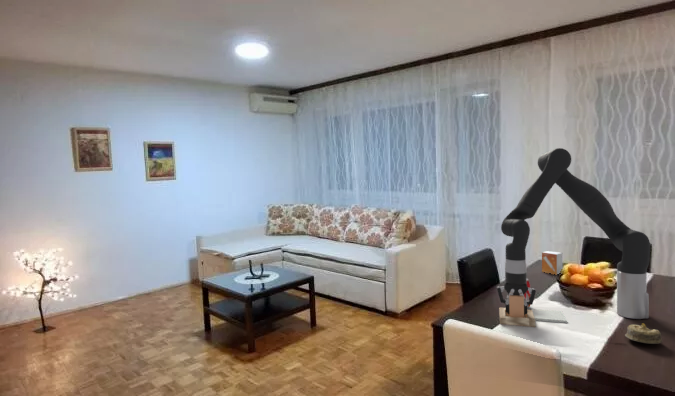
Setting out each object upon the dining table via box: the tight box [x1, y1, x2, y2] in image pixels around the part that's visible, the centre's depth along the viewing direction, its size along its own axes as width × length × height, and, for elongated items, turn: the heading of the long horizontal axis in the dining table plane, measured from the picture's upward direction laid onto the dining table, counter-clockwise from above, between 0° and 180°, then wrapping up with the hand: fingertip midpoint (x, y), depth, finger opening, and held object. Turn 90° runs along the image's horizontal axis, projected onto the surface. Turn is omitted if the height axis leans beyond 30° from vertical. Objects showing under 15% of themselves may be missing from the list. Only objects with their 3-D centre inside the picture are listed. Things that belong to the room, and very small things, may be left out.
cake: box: [624, 323, 663, 345], centre depth 134 cm, size 10×10×5 cm
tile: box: [531, 308, 568, 324], centre depth 158 cm, size 11×11×1 cm
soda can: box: [524, 277, 531, 309], centre depth 170 cm, size 7×7×12 cm
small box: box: [541, 250, 563, 276], centre depth 215 cm, size 8×6×13 cm
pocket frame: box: [498, 307, 536, 328], centre depth 155 cm, size 12×12×2 cm
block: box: [508, 295, 525, 318], centre depth 155 cm, size 5×5×10 cm
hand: (516, 313), depth 155 cm, fingers closed on block, 5 cm apart
